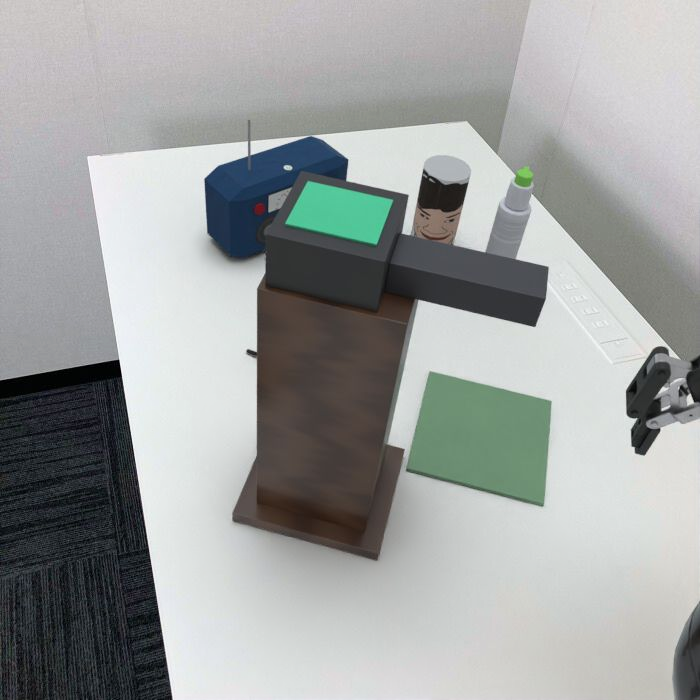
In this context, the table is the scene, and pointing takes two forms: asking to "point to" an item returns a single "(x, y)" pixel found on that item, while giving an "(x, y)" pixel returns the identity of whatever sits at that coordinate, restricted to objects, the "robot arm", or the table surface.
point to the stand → (326, 418)
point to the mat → (482, 438)
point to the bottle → (512, 216)
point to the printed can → (441, 198)
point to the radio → (261, 190)
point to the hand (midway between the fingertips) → (689, 459)
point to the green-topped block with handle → (387, 256)
